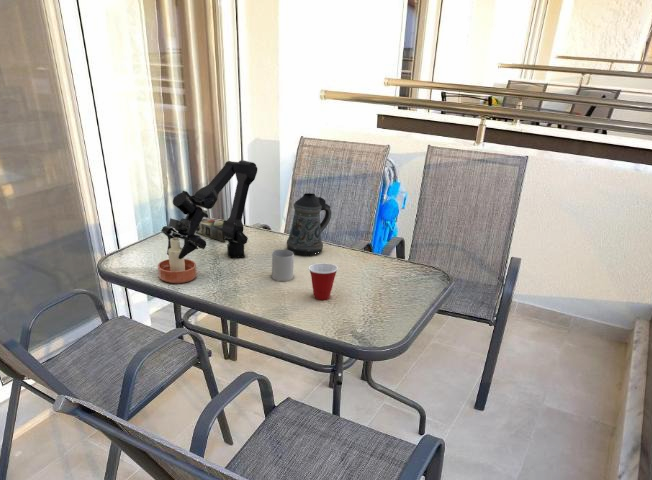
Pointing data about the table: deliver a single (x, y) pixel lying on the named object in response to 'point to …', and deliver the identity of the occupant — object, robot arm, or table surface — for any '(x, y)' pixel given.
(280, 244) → the table surface
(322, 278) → the plastic cup
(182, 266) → the bottle
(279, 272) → the cup
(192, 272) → the bowl
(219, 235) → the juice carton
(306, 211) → the beer stein
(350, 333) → the table surface
